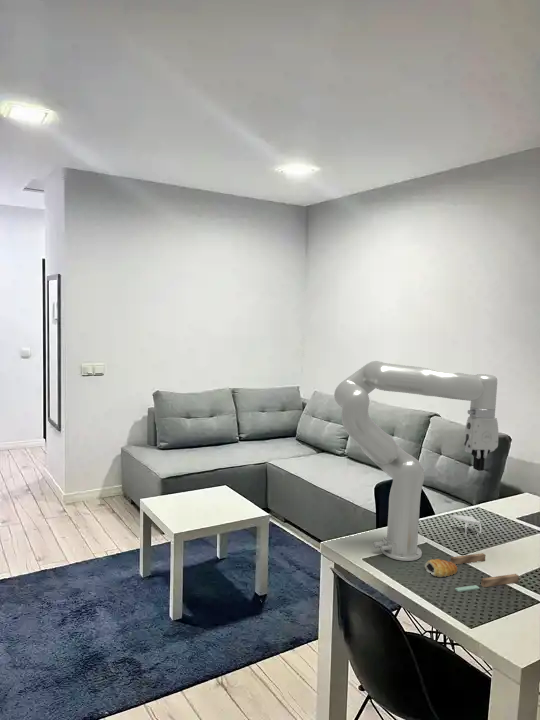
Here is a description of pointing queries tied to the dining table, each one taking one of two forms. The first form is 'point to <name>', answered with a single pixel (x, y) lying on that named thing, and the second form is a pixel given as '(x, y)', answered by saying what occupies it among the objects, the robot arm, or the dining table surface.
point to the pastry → (440, 568)
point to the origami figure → (467, 520)
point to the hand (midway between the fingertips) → (478, 469)
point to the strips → (466, 588)
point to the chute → (491, 580)
